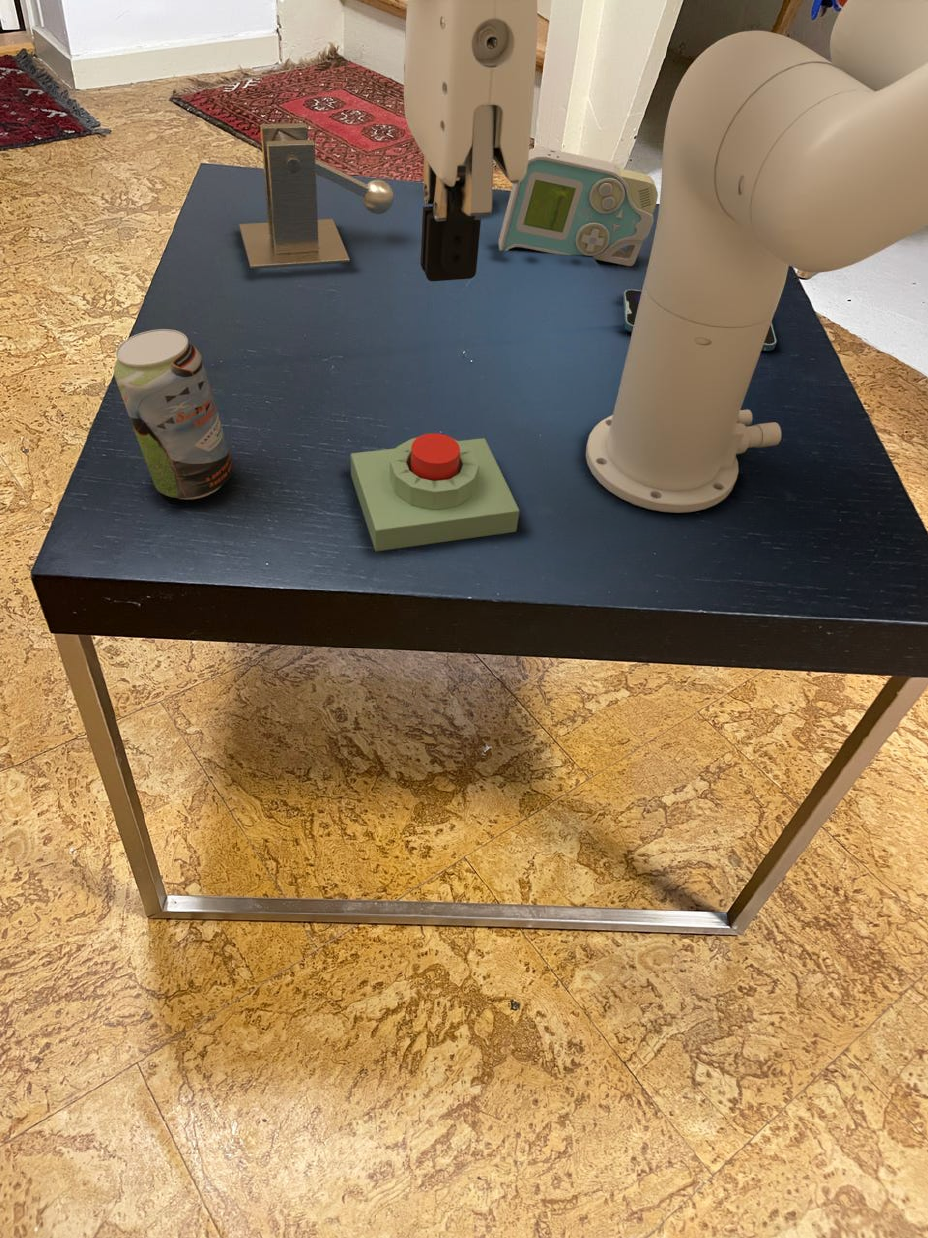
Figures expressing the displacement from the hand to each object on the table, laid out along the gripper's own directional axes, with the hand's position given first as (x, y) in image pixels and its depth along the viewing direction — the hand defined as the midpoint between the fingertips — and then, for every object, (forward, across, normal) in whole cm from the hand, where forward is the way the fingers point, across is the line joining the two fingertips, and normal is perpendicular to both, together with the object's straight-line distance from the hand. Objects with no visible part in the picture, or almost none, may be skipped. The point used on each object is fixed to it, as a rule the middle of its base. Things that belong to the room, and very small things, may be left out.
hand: (447, 272), depth 60 cm
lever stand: (+19, +41, +4) cm, 45 cm away
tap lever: (+13, +41, 0) cm, 43 cm away
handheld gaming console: (+19, +36, -25) cm, 48 cm away
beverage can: (+19, +6, +18) cm, 27 cm away
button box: (+19, 0, 0) cm, 19 cm away
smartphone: (+19, +21, -33) cm, 44 cm away
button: (+15, 0, 0) cm, 15 cm away
